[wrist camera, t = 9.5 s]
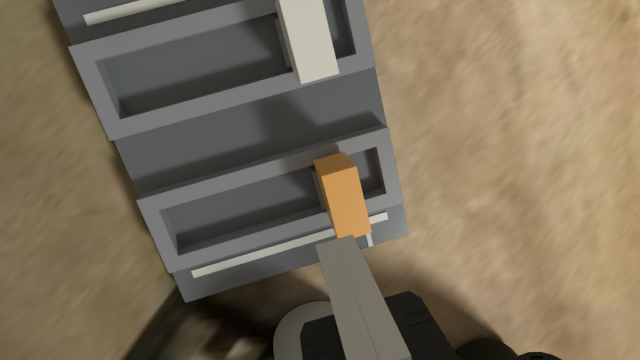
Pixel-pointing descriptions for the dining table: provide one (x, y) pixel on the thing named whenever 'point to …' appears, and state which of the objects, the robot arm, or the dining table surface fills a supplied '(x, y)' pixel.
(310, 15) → the fader
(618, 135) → the dining table surface
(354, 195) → the block
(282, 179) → the grey flat slotted tray
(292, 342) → the mug
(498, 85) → the dining table surface
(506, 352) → the wine bottle
